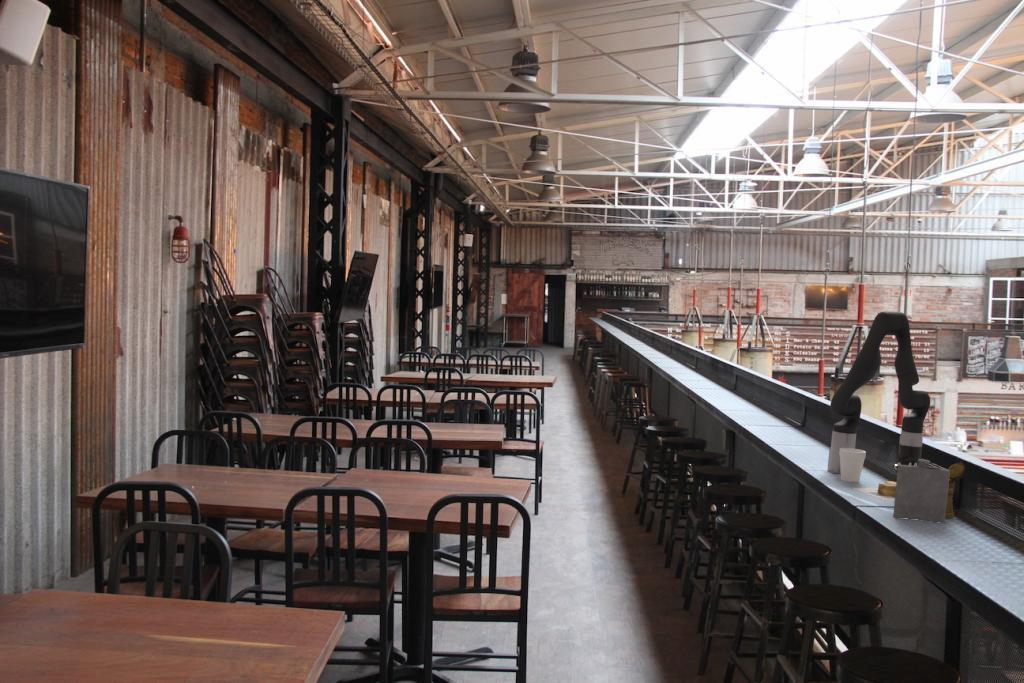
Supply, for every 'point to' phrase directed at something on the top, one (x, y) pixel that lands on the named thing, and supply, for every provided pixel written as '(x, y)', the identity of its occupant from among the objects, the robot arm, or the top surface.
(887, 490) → the t block
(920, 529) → the top surface
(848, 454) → the foam cup
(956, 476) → the wooden mug
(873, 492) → the t board
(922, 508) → the hip flask
